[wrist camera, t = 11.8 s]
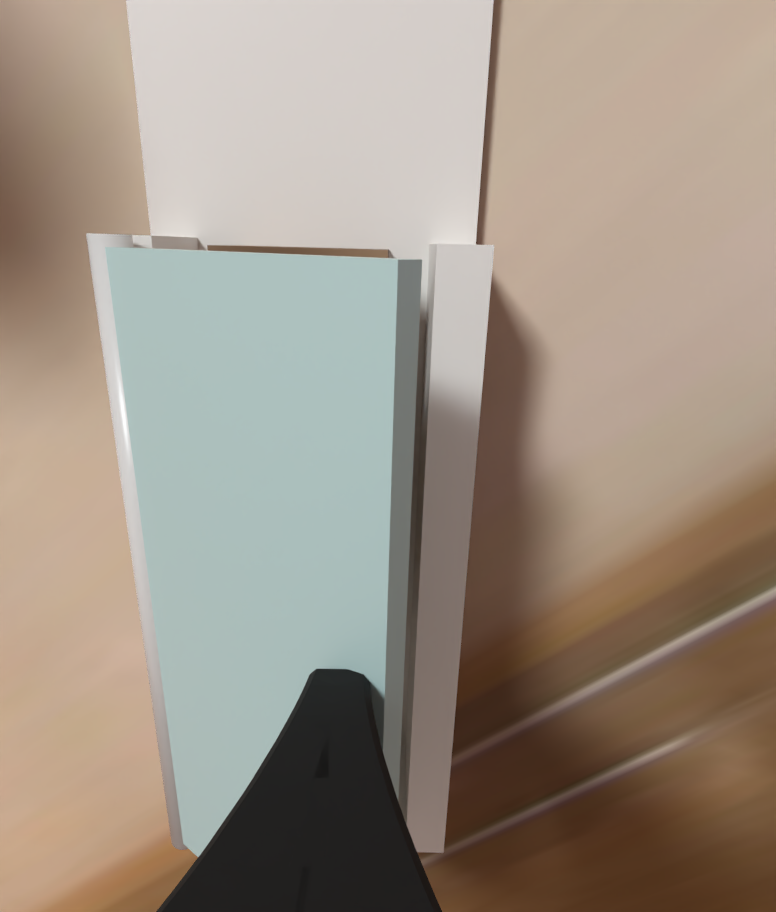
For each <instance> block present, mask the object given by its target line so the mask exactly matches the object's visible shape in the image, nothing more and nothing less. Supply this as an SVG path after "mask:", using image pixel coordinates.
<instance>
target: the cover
mask: <svg viewBox="0 0 776 912" xmlns="http://www.w3.org/2000/svg"><path fill="white" fill-rule="evenodd" d="M86 237H87V244H88V251H89V258H90V266H91V273H92V280H93V287H94V294H95V301H96V308H97V315H98V322H99V330H100V337H101V344H102V351H103V358H104V365H105V372H106V379H107V386H108V393H109V401H110V408H111V415H112V422H113V429H114V436H115V443H116V450H117V457H118V465H119V472H120V479H121V486H122V493H123V500H124V507H125V514H126V521H127V528H128V536H129V543H130V550H131V557H132V564H133V571H134V578H135V585H136V592H137V600H138V607H139V614H140V621H141V628H142V635H143V642H144V649H145V656H146V663H147V671H148V678H149V685H150V692H151V699H152V706H153V713H154V720H155V727H156V735H157V742H158V749H159V756H160V763H161V770H162V777H163V784H164V791H165V799H166V806H167V813H168V820H169V827H170V834H171V841H172V845H173V846H174V847H175V848H177V849H180V850H184V849H188V848H189V849H190V850H191V851H192V852H193V853H194V854H195V855H196V856H197V857H199V856H200V854H201V853H202V852H203V850H204V849H205V848H206V846H207V845H208V843H209V842H210V840H211V839H212V838H213V836H214V835H215V833H216V832H217V830H218V829H219V827H220V826H221V824H222V823H223V822H224V820H225V819H226V817H227V816H228V814H229V813H230V811H231V810H232V809H233V807H234V806H235V804H236V803H237V801H238V800H239V798H240V797H241V796H242V794H243V793H244V791H245V790H246V788H247V786H248V785H249V783H250V782H251V780H252V779H253V777H254V775H255V774H256V772H257V770H258V769H259V767H260V766H261V764H262V762H263V761H264V759H265V757H266V756H267V754H268V752H269V751H270V749H271V748H272V746H273V744H274V743H275V741H276V739H277V738H278V736H279V734H280V732H281V730H282V729H283V727H284V725H285V723H286V722H287V720H288V718H289V716H290V714H291V712H292V710H293V709H294V707H295V705H296V703H297V701H298V699H299V697H300V695H301V693H302V690H303V688H304V686H305V684H306V682H307V679H308V677H309V675H310V674H311V673H312V672H313V671H314V670H316V669H349V670H352V671H355V672H358V673H361V674H364V676H365V677H366V678H367V679H368V681H369V682H370V687H371V698H372V705H373V711H374V716H375V721H376V726H377V730H378V734H379V739H380V743H381V747H382V750H383V754H384V758H385V761H386V764H387V767H388V771H389V774H390V777H391V780H392V783H393V787H394V790H395V793H396V796H397V799H398V798H399V776H400V753H401V730H402V707H403V685H404V662H405V639H406V617H407V594H408V571H409V548H410V526H411V503H412V480H413V458H414V435H415V412H416V389H417V367H418V344H419V321H420V299H421V276H422V259H398V258H374V257H350V256H326V255H301V254H277V253H253V252H229V251H205V250H181V249H157V248H134V247H133V238H132V235H123V234H89V233H86Z"/></svg>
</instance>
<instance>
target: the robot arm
mask: <svg viewBox="0 0 776 912" xmlns="http://www.w3.org/2000/svg"><path fill="white" fill-rule="evenodd" d="M156 912H442V910H441V908H440V906H439V904H438V902H437V899H436V897H435V895H434V892H433V890H432V888H431V885H430V883H429V881H428V878H427V876H426V873H425V871H424V868H423V866H422V863H421V861H420V859H419V856H418V853H417V851H416V848H415V846H414V843H413V840H412V838H411V835H410V833H409V830H408V827H407V825H406V822H405V819H404V816H403V813H402V811H401V808H400V805H399V802H398V799H397V796H396V793H395V790H394V787H393V783H392V780H391V777H390V774H389V771H388V767H387V764H386V761H385V758H384V754H383V750H382V747H381V743H380V739H379V734H378V730H377V726H376V721H375V716H374V711H373V705H372V698H371V687H370V682H369V681H368V679H367V678H366V677H365V676H364V674H361V673H358V672H355V671H352V670H349V669H316V670H314V671H313V672H312V673H311V674H310V675H309V677H308V679H307V682H306V684H305V686H304V688H303V690H302V693H301V695H300V697H299V699H298V701H297V703H296V705H295V707H294V709H293V710H292V712H291V714H290V716H289V718H288V720H287V722H286V723H285V725H284V727H283V729H282V730H281V732H280V734H279V736H278V738H277V739H276V741H275V743H274V744H273V746H272V748H271V749H270V751H269V752H268V754H267V756H266V757H265V759H264V761H263V762H262V764H261V766H260V767H259V769H258V770H257V772H256V774H255V775H254V777H253V779H252V780H251V782H250V783H249V785H248V786H247V788H246V790H245V791H244V793H243V794H242V796H241V797H240V798H239V800H238V801H237V803H236V804H235V806H234V807H233V809H232V810H231V811H230V813H229V814H228V816H227V817H226V819H225V820H224V822H223V823H222V824H221V826H220V827H219V829H218V830H217V832H216V833H215V835H214V836H213V838H212V839H211V840H210V842H209V843H208V845H207V846H206V848H205V849H204V850H203V852H202V853H201V854H200V856H199V857H198V858H197V860H196V861H195V862H194V864H193V865H192V866H191V868H190V869H189V870H188V872H187V873H186V874H185V876H184V877H183V878H182V880H181V881H180V882H179V884H178V885H177V886H176V887H175V889H174V890H173V891H172V893H171V894H170V895H169V896H168V898H167V899H166V900H165V901H164V903H163V904H162V905H161V906H160V908H159V909H158V910H157V911H156Z"/></svg>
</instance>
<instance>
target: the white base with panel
mask: <svg viewBox="0 0 776 912" xmlns="http://www.w3.org/2000/svg"><path fill="white" fill-rule="evenodd" d="M493 3H494V0H126V4H127V13H128V23H129V32H130V42H131V51H132V61H133V70H134V80H135V89H136V99H137V108H138V118H139V127H140V137H141V146H142V156H143V165H144V175H145V184H146V194H147V203H148V213H149V222H150V232H151V236H149V235H132V238H133V247H134V248H157V249H181V250H205V251H208V249H207V245H245V246H281V247H317V248H353V249H389V258H398V259H422V276H421V299H420V321H419V344H418V367H417V389H416V412H415V435H414V458H413V480H412V503H411V526H410V548H409V571H408V594H407V617H406V639H405V662H404V685H403V707H402V730H401V753H400V776H399V798H398V802H399V805H400V808H401V811H402V813H403V816H404V819H405V822H406V825H407V827H408V830H409V833H410V835H411V838H412V840H413V843H414V846H415V848H416V851H417V852H431V853H444V842H445V830H446V818H447V806H448V794H449V782H450V770H451V758H452V746H453V734H454V722H455V710H456V698H457V686H458V674H459V662H460V650H461V638H462V626H463V614H464V602H465V590H466V578H467V566H468V554H469V542H470V530H471V518H472V506H473V494H474V482H475V470H476V458H477V446H478V434H479V422H480V410H481V398H482V386H483V374H484V362H485V350H486V338H487V326H488V314H489V302H490V290H491V278H492V266H493V254H494V245H476V235H477V222H478V208H479V194H480V181H481V167H482V153H483V140H484V126H485V112H486V99H487V85H488V71H489V58H490V44H491V31H492V17H493Z"/></svg>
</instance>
